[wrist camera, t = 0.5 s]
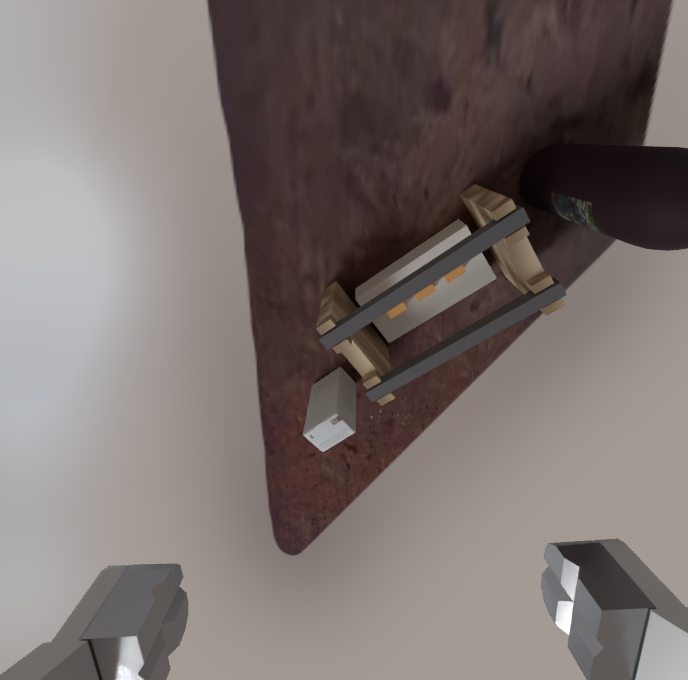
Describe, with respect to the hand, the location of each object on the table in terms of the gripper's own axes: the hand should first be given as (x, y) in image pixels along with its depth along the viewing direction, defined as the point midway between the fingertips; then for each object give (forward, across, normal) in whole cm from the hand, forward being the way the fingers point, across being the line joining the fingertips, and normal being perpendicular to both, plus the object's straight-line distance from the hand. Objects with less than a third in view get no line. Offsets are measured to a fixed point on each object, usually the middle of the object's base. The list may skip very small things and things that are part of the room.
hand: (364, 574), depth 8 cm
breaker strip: (+45, -11, -1) cm, 46 cm away
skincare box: (+50, +2, +15) cm, 52 cm away
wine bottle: (+42, -26, -13) cm, 50 cm away
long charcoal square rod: (+33, -8, -2) cm, 34 cm away
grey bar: (+35, -13, +5) cm, 37 cm away
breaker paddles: (+41, -11, 0) cm, 42 cm away
